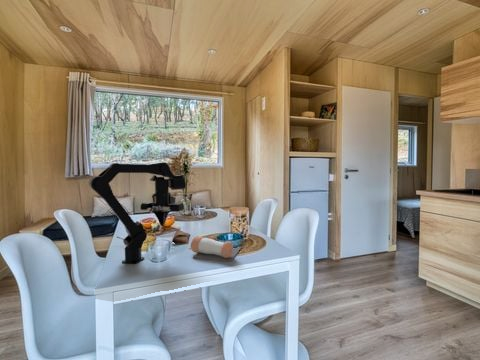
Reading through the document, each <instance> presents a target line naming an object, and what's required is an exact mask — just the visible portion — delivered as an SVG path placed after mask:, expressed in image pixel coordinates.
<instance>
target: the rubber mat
mask: <svg viewBox="0 0 480 360" xmlns="http://www.w3.org/2000/svg"><path fill="white" fill-rule="evenodd" d="M242 248H243V247H242V246H238V247H237V248H234V249H233V253H232V255H231V257H229V258H224V257H223V256H222V255H217V254H205V253H196V254H195V255H193V259H202V260H211V261H220V262H221V261H223V262H232V261H233V260H235V259H234V258H235V257H236V256H237V255H238V254H239V252H240V251H241V250H242ZM239 250H240V251H239Z"/></svg>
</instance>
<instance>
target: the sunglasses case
mask: <svg viewBox="0 0 480 360" xmlns="http://www.w3.org/2000/svg"><path fill="white" fill-rule="evenodd" d="M190 236H191V234H190V233H187V232H185V231H183V230H181V229H177V230H175V233H174V235H173V238H172V240H171V243H172V242H174V243H175V244H176V245H177V246H178V245H188V244H189V239H190Z"/></svg>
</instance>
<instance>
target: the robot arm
mask: <svg viewBox="0 0 480 360" xmlns="http://www.w3.org/2000/svg"><path fill="white" fill-rule="evenodd" d="M120 173H121V174H122V173H123V174H143V173H144V174H150V175H152V177H151V178H149V181H150V182H154V191H155V192H154V193H153V197H154V198H155V201H146V202H141V204H140V210H142V211H147V210H148V209H152V210H151V213H153V214H154V215H155V217H156V218H157V221H158V222H159V224H160V226H161V227H163V226H165V223H166V222H167V218H168V215H169V213H170V212H181V211H182V210H183V211H184V210H185V205H184V203H182V202H176V197H174V196H171V192H170V190H172V191H179V190H185V189H186V186H187V183H186V179H185V177H184V174H177V175H176V174H174V173H173V172H172V170H171V168H170V165H169V164H168V163H167V162H161V161H160V162H153V163H147V164H142V163H141V164H140V163H139V164H137V163H118V162H115V163H111V164H109V166H108V167H107V168H105V169H104V170H103V171H102V172H100V173H99V174H98V175H95V176H92V177H91V178H90V179H89V181H88V186H89V188H90V189H91V190H92V191H93V192H95V193H96V195H97V194H98V196H99V197H101V198H102V199H103V200H104V202H105V203H106V204H107V205H108V207H109V208H110V209H111V210H112V212H113V213H114V215H115V216H116V217H117V218H118V220H119V221H120V222H121V224H122V225H123V226H124V229H125V232H126V234H127V235H126V237H125V238H124V239H123V240H122V242H123V244H124V246H125V248H124V260H122V261H121V263H122V264H123V263H124V264H130V265H131V264H133V265H135V264H138V263H140V262H141V261H143V260H145V256H142V247H143V244H144V242H145V241H146V239H147V238H148V237H147V236H148V234H147V230H146V229H145V228H144V226H143V224H142V223H141V222H139V221H137V220H136V222H135V221H134V220H133V219H132V217H131V215H129V214H128V212H127V210H126V209H125V208H124V207H123V206H122V204H121V203H120V201H119V200H118V198H117V197H116V196H115V195H114V192H113V190H112V187H111V185H110V183H111V182H112V181H113V180H114V179H115V177H117V175H118V174H120Z"/></svg>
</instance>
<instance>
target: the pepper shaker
mask: <svg viewBox="0 0 480 360" xmlns="http://www.w3.org/2000/svg"><path fill="white" fill-rule="evenodd" d="M233 246H234V244H233V243H232V242H231V241H229V240H228V241H225V242H223V241H217V240H215V239H212V238H206V237H204V236H199V235H196V236H194V237H193V239H192V240H191V244H190V248H191V251H192V253H196V254H197V253H205V254H217V255H222V256H223V257H224V258H229V257H231V255H232V253H233Z"/></svg>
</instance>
